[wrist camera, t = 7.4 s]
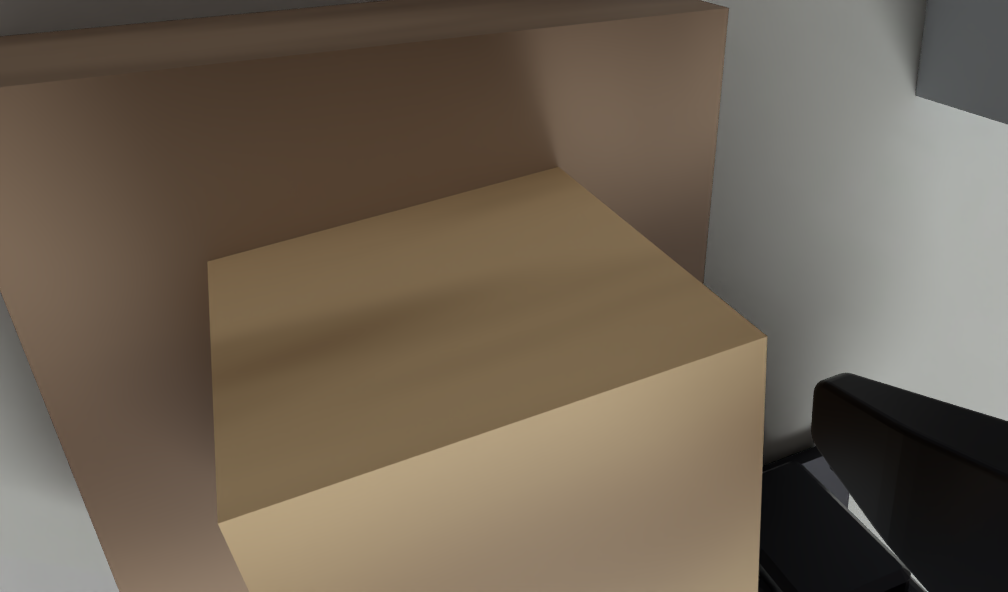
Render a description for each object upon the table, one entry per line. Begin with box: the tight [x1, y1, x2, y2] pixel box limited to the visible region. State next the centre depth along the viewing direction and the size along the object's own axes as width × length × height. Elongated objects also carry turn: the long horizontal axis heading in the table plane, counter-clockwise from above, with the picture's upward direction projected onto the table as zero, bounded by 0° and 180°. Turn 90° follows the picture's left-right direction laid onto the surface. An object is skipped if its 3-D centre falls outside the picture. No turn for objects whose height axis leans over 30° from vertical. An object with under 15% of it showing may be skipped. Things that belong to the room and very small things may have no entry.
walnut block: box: [0, 0, 729, 592], centre depth 14 cm, size 10×10×4 cm
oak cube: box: [207, 167, 767, 592], centre depth 10 cm, size 5×5×5 cm
